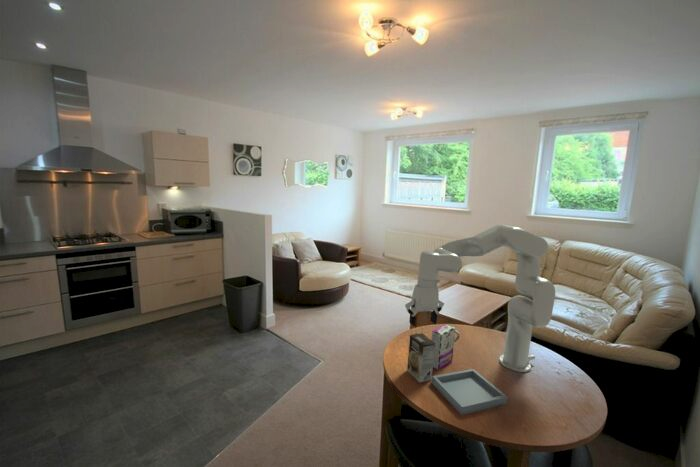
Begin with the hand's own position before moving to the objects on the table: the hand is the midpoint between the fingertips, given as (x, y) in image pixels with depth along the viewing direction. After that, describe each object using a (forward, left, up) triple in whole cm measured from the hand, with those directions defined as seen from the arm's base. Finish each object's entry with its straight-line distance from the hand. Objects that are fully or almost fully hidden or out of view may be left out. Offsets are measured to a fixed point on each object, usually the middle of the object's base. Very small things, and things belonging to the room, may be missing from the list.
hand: (422, 323), depth 125 cm
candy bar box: (-14, -5, -23) cm, 27 cm away
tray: (-12, +15, -23) cm, 30 cm away
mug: (-24, -16, -23) cm, 37 cm away
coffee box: (0, 0, -23) cm, 23 cm away
